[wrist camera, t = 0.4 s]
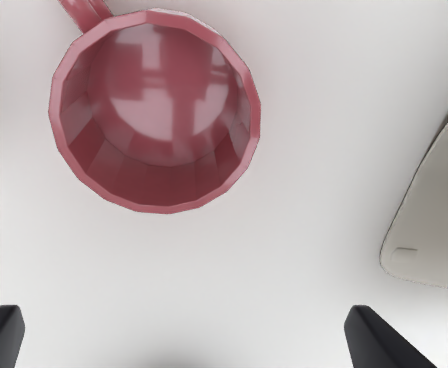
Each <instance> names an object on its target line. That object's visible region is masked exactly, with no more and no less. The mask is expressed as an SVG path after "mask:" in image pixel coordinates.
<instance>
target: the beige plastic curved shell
mask: <svg viewBox="0 0 448 368" xmlns="http://www.w3.org/2000/svg"><path fill="white" fill-rule="evenodd" d="M380 264H381V266H382V268H383V269H384V270H385V271H386V272H387V273H388V274H390V275H391V276H393V277H396V278H400V279H403V280H407V281H411V282H416V283H421V284H426V285H431V286H437V287H443V288H448V123H447V124H446V126H445V127H444V128H443V130H442V131H441V133H440V134H439V136H438V137H437V139H436V140H435V142H434V144H433V145H432V147H431V148H430V150H429V152H428V153H427V155H426V157H425V158H424V160H423V161H422V163H421V165H420V167H419V169H418V171H417V173H416V175H415V177H414V179H413V181H412V183H411V185H410V188H409V190H408V192H407V194H406V196H405V198H404V200H403V203H402V205H401V207H400V209H399V211H398V213H397V215H396V217H395V219H394V221H393V223H392V225H391V227H390V230H389V232H388V234H387V236H386V239H385V241H384V244H383V247H382V250H381V253H380Z"/></svg>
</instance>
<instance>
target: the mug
mask: <svg viewBox="0 0 448 368" xmlns="http://www.w3.org/2000/svg"><path fill="white" fill-rule="evenodd" d="M58 1H59V3H60V4H61V5H62V7H63V8H64V9H65V11H66V12H67V13H68V15H69V16H70V17H71V19H72V20H73V21H74V23H75V24H76V25H77V27H78V28H79V29H80V31H81V32H82V33H83V35H82V36H80V37H79V38H77V39H76V40H75V41H73V42H72V44H71V45H70V47H69V48H68V50H67V52H66V54H65V55H64V57H63V59H62V60H61V62H60V64H59V66H58V67H57V69H56V71H55V73H54V74H53V77H52V84H51V92H50V101H49V110H48V114H49V119H50V123H51V127H52V130H53V134H54V138H55V141H56V145H57V148H58V151H59V152H60V154H61V155H62V156H63V158H64V159H65V161H66V162H67V164H68V165H69V167H70V168H71V170H72V171H73V172H74V174H75V175H76V177H77V178H78V179H79V180H80V181H81V182H83V183H84V184H85V185H87V186H88V187H89V188H90V189H92V190H93V191H94V192H96V193H97V194H98V195H100V196H101V197H102V198H103V199H106V200H107V201H109V202H112V203H115V204H117V205H120V206H123V207H125V208H128V209H130V210H133V211H137V212H146V213H159V214H173V213H177V212H182V211H186V210H191V209H195V208H199V207H201V206H203V205H205V204H207V203H208V202H210V201H212V200H213V199H215V198H217V197H219V196H220V195H222V194H224V193H226V192H227V191H228V190H229V189H230V188H231V187H232V185H233V184H234V183H235V182H236V181H237V180H238V179H239V177H240V176H241V175H242V174H243V173H244V172H245V171H246V170H247V168H248V166H249V164H250V161H251V159H252V156H253V154H254V151H255V149H256V146H257V144H258V141H259V138H260V117H261V104H260V100H259V97H258V94H257V91H256V88H255V85H254V82H253V79H252V76H251V73H250V70H249V68H248V67H247V66H246V64H245V63H244V62H243V61H242V59H241V58H240V57H239V56H238V54H237V53H236V52H235V51H234V49H233V48H232V47H231V46H230V45H229V43H228V42H227V41H226V40H225V39H224V38H223V37H222V36H221V35H220V34H219V33H218V32H217V31H216V30H215V29H214V28H212V27H210V26H208V25H207V24H205V23H204V22H202V21H200V20H198V19H197V18H195V17H193V16H192V15H190V14H187V13H184V12H179V11H173V10H168V9H161V8H151V9H146V10H141V11H137V12H133V13H128V14H124V15H119V16H115V17H114V16H113V14H112V13H111V11H110V10H109V9H108V7H107V6H106V4H105V3H104V1H103V0H58Z"/></svg>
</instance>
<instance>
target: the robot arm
mask: <svg viewBox="0 0 448 368" xmlns="http://www.w3.org/2000/svg"><path fill="white" fill-rule="evenodd" d="M344 331H345V336H346V340H347V344H348V347H349V351H350V355H351V359H352V363H353V367H354V368H437V367H436V366H435V365H434V364H433V363H431V362H430V361H429V360H428V359H427V358H426V357H425V356H424V355H423V354H421V353H420V352H419V351H418V350H417V349H416V348H415V347H414V346H413V345H411V344H410V343H409V342H408V341H407V340H406V339H405V338H404V337H402V336H401V335H400V334H399V333H398V332H397V331H396V330H395V329H394V328H392V327H391V326H390V325H389V324H388V323H387V322H386V321H385V320H384V319H382V318H381V317H380V316H379V315H378V314H377V313H376V312H375V311H373V310H372V309H371V308H370V307H369V306H366V305H354V306H352V308H351V310H350V312H349V314H348V316H347V318H346V320H345V323H344ZM24 332H25V324H24V321H23V317H22V314H21V310H20V308H19V306H17V305H1V306H0V368H14V367H15V363H16V360H17V357H18V353H19V350H20V347H21V343H22V340H23V337H24Z"/></svg>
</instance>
